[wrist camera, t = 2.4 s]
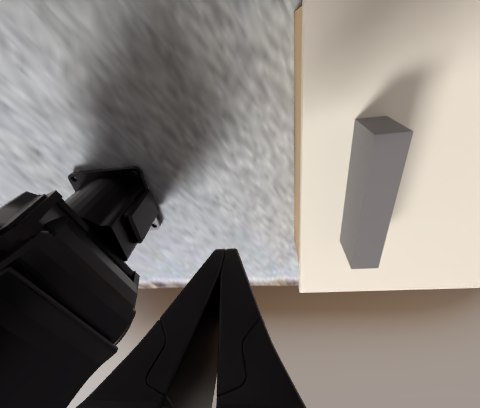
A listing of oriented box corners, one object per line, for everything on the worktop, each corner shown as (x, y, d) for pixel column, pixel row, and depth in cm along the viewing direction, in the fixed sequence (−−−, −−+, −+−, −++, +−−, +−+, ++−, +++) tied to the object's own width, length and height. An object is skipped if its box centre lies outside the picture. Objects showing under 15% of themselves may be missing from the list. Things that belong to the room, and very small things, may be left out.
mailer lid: (298, 286, 20) (304, 322, 18) (302, -9, 10) (317, -25, 8) (497, 280, 19) (535, 318, 16) (729, -78, 9) (929, -128, 6)
